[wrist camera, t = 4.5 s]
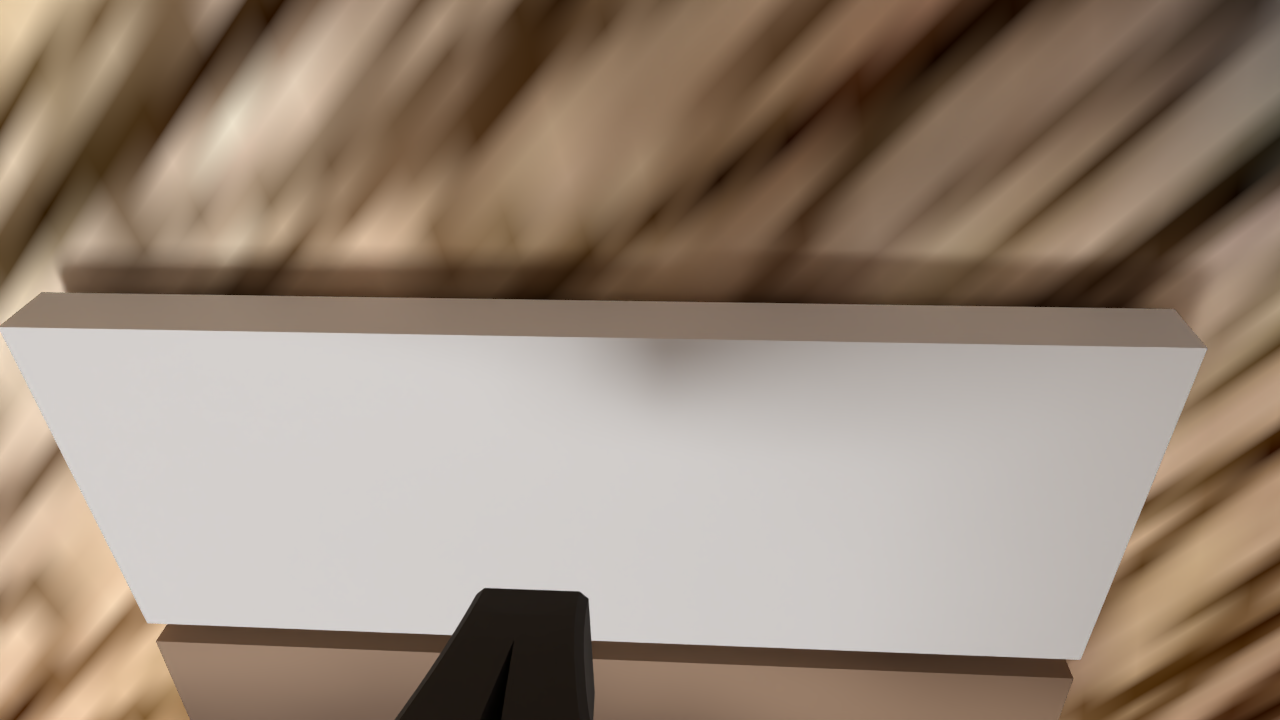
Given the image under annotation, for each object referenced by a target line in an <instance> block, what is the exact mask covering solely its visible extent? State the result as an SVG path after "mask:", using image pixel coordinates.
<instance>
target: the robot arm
mask: <svg viewBox="0 0 1280 720" xmlns="http://www.w3.org/2000/svg"><path fill="white" fill-rule="evenodd" d="M594 699H595V688H594V673H593V658H592V642H591V627H590V612H589V598H587V597H586V596H585V595H584V594H582V593H581V592H580V591H556V590H528V589H500V588H484V589H482V590H481V591H480V592H479V593H477V594H476V596H475V598H474V599H473V601H472V603H471V605H470V606H469V608H468V610H467V612H466V613H465V615H464V617H463V618H462V620H461V621H460V623H459V625H458V626H457V628H456V630H455V631H454V633H453V634H452V636H451V638H450V639H449V641H448V642H447V644H446V646H445V647H444V649H443V650H442V652H441V653H440V655H439V656H438V658H437V659H436V661H435V662H434V664H433V665H432V667H431V668H430V670H429V671H428V673H427V674H426V676H425V677H424V679H423V680H422V682H421V683H420V685H419V686H418V687H417V689H416V690H415V692H414V693H413V694H412V696H411V697H410V699H409V700H408V701H407V703H406V704H405V706H404V707H403V709H402V710H401V711H400V713H399V714H398V716H397V717H396V718H395V720H593V716H594Z"/></svg>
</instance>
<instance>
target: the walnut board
mask: <svg viewBox="0 0 1280 720" xmlns="http://www.w3.org/2000/svg"><path fill="white" fill-rule="evenodd" d="M451 636H452V635H436V634H411V633H386V632H360V631H335V630H309V629H284V628H258V627H233V626H208V625H182V624H167V626H166V627H165V629H164V630H163V632H162V633H161V635H160V636H159V638H158V639H157V641H156V643H157V645H158V647H159V649H160V652H161V654H162V656H163V659H164V661H165V663H166V665H167V668H168V670H169V672H170V675H171V677H172V679H173V681H174V684H175V686H176V688H177V691H178V693H179V695H180V697H181V700H182V702H183V704H184V707H185V709H186V711H187V713H188V716H189V718H190V720H395V718H396V717H397V716H398V714H399V713H400V711H401V710H402V709H403V707H404V706H405V704H406V703H407V701H408V700H409V699H410V697H411V696H412V694H413V693H414V692H415V690H416V689H417V687H418V686H419V685H420V683H421V682H422V680H423V679H424V677H425V676H426V674H427V673H428V671H429V670H430V668H431V667H432V665H433V664H434V662H435V661H436V659H437V658H438V656H439V655H440V653H441V652H442V650H443V649H444V647H445V646H446V644H447V642H448V641H449V639H450V638H451ZM591 642H592V658H593V673H594V688H595V699H594V716H593V720H1059V717H1060V715H1061V712H1062V709H1063V706H1064V703H1065V700H1066V698H1067V695H1068V692H1069V689H1070V686H1071V684H1072V681H1073V677H1072V674H1071V672H1070V670H1069V667H1068V665H1067V663H1066V660H1065V659H1047V658H1021V657H996V656H971V655H945V654H920V653H894V652H869V651H843V650H818V649H793V648H767V647H742V646H716V645H691V644H665V643H640V642H614V641H591Z"/></svg>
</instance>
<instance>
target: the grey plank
mask: <svg viewBox="0 0 1280 720" xmlns="http://www.w3.org/2000/svg"><path fill="white" fill-rule="evenodd" d="M0 332H1V334H2V336H3V338H4V340H5V342H6V344H7V346H8V348H9V350H10V352H11V354H12V356H13V358H14V360H15V361H16V363H17V365H18V367H19V369H20V371H21V373H22V375H23V377H24V379H25V381H26V383H27V385H28V387H29V389H30V391H31V393H32V395H33V397H34V399H35V401H36V403H37V405H38V407H39V409H40V411H41V413H42V415H43V417H44V419H45V421H46V423H47V425H48V427H49V429H50V431H51V433H52V435H53V437H54V439H55V441H56V443H57V445H58V447H59V449H60V451H61V453H62V455H63V457H64V459H65V461H66V463H67V465H68V467H69V469H70V471H71V473H72V475H73V477H74V478H75V480H76V482H77V484H78V486H79V488H80V490H81V492H82V494H83V496H84V498H85V500H86V502H87V504H88V506H89V508H90V510H91V512H92V514H93V516H94V518H95V520H96V522H97V524H98V526H99V528H100V530H101V532H102V534H103V536H104V538H105V540H106V542H107V544H108V546H109V548H110V550H111V552H112V554H113V556H114V558H115V560H116V562H117V564H118V566H119V568H120V570H121V572H122V574H123V576H124V578H125V580H126V582H127V584H128V586H129V588H130V590H131V592H132V594H133V595H134V597H135V599H136V601H137V603H138V605H139V607H140V609H141V611H142V613H143V615H144V617H145V619H146V621H147V623H157V624H182V625H208V626H233V627H258V628H284V629H309V630H335V631H360V632H386V633H411V634H436V635H452V634H453V633H454V631H455V630H456V628H457V626H458V625H459V623H460V621H461V620H462V618H463V617H464V615H465V613H466V612H467V610H468V608H469V606H470V605H471V603H472V601H473V599H474V598H475V596H476V594H477V593H479V592H480V591H481V590H482V589H484V588H500V589H528V590H556V591H580V592H581V593H582V594H584V595H585V596H586V597H587V598H589V612H590V627H591V641H614V642H640V643H665V644H691V645H716V646H742V647H767V648H793V649H818V650H843V651H869V652H894V653H920V654H945V655H971V656H996V657H1021V658H1047V659H1072V660H1081V657H1082V655H1083V652H1084V650H1085V647H1086V645H1087V643H1088V640H1089V638H1090V635H1091V633H1092V630H1093V628H1094V625H1095V623H1096V620H1097V618H1098V616H1099V613H1100V611H1101V608H1102V606H1103V603H1104V601H1105V598H1106V596H1107V593H1108V591H1109V589H1110V586H1111V584H1112V581H1113V579H1114V576H1115V574H1116V571H1117V569H1118V566H1119V564H1120V562H1121V559H1122V557H1123V554H1124V552H1125V549H1126V547H1127V544H1128V542H1129V539H1130V537H1131V535H1132V532H1133V530H1134V527H1135V525H1136V522H1137V520H1138V517H1139V515H1140V512H1141V510H1142V508H1143V505H1144V503H1145V500H1146V498H1147V495H1148V493H1149V490H1150V488H1151V486H1152V483H1153V481H1154V478H1155V476H1156V473H1157V471H1158V468H1159V466H1160V463H1161V461H1162V459H1163V456H1164V454H1165V451H1166V449H1167V446H1168V444H1169V441H1170V439H1171V436H1172V434H1173V432H1174V429H1175V427H1176V424H1177V422H1178V419H1179V417H1180V414H1181V412H1182V409H1183V407H1184V405H1185V402H1186V400H1187V397H1188V395H1189V392H1190V390H1191V387H1192V385H1193V382H1194V380H1195V378H1196V375H1197V373H1198V370H1199V368H1200V365H1201V363H1202V360H1203V358H1204V355H1205V353H1206V351H1207V347H1206V346H1205V345H1204V343H1203V342H1202V341H1201V340H1200V339H1199V338H1198V336H1197V335H1196V334H1195V333H1194V332H1193V331H1192V329H1191V328H1190V327H1189V326H1188V325H1187V323H1186V322H1185V321H1184V320H1183V319H1182V318H1181V316H1180V315H1179V314H1178V313H1177V312H1176V310H1175V309H1139V308H1071V307H1003V306H935V305H867V304H799V303H731V302H663V301H595V300H527V299H459V298H391V297H323V296H255V295H187V294H119V293H51V292H41V293H40V294H39V295H38V296H36V297H35V298H34V299H33V300H31V301H30V302H29V303H28V304H26V305H25V306H24V307H23V308H21V309H20V310H19V311H18V312H16V313H15V314H14V315H13V316H12V317H10V318H9V319H8V320H7V321H5V322H4V323H3V324H2V325H0Z"/></svg>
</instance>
